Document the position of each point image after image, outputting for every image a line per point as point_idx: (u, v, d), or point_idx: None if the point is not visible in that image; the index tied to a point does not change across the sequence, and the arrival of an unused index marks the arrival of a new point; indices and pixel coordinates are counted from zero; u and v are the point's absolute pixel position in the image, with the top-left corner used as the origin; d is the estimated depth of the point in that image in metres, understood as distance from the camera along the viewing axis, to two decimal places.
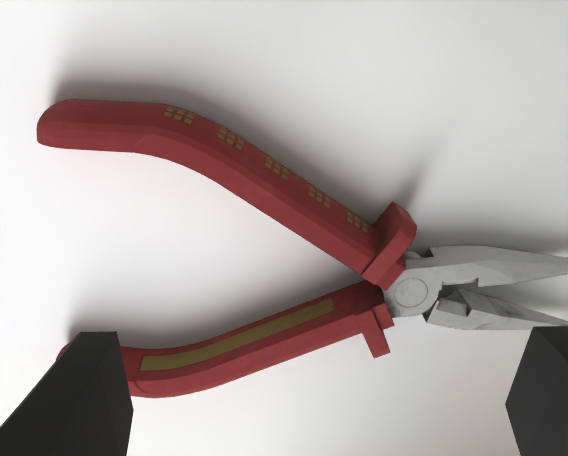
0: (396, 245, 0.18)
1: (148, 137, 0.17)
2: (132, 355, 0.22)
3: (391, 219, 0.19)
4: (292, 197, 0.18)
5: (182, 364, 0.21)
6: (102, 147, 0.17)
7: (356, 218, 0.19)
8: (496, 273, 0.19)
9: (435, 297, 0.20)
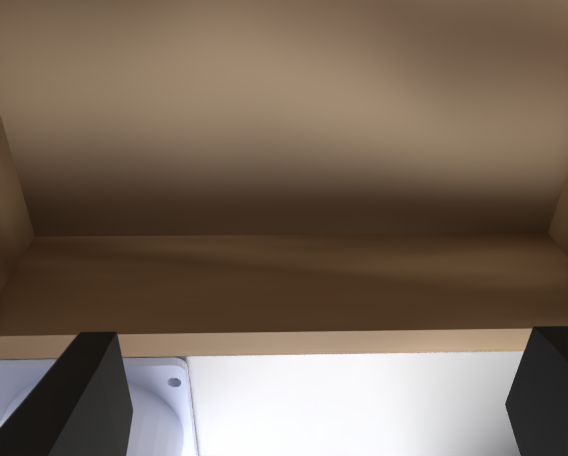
0: None
1: None
2: None
3: None
4: None
5: None
6: None
7: None
8: None
9: None
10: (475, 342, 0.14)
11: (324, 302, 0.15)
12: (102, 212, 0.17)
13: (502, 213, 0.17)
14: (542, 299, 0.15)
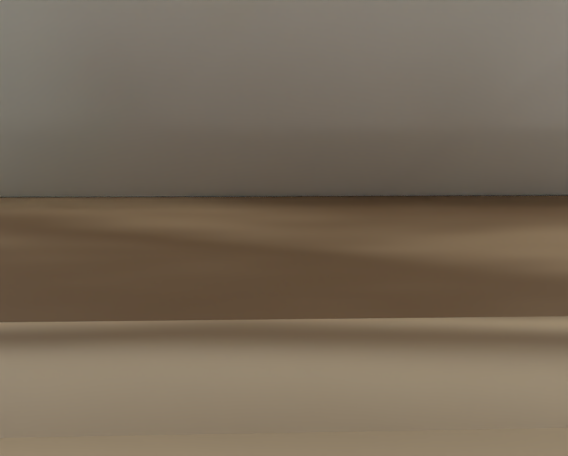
0: None
1: None
2: None
3: None
4: None
5: None
6: None
7: None
8: None
9: None
10: None
11: None
12: None
13: None
14: None
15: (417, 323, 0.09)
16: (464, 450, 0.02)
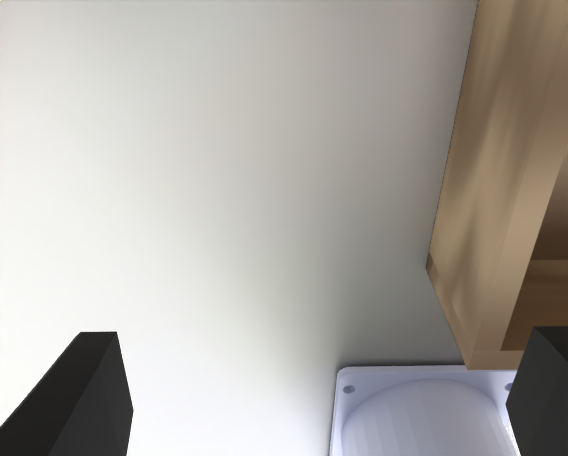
0: None
1: None
2: None
3: None
4: None
5: None
6: None
7: None
8: None
9: None
10: None
11: None
12: None
13: None
14: None
15: None
16: None
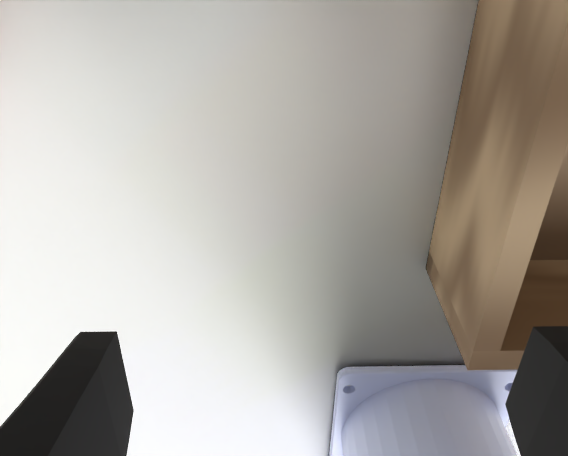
0: None
1: None
2: None
3: None
4: None
5: None
6: None
7: None
8: None
9: None
10: None
11: None
12: None
13: None
14: None
15: None
16: None
